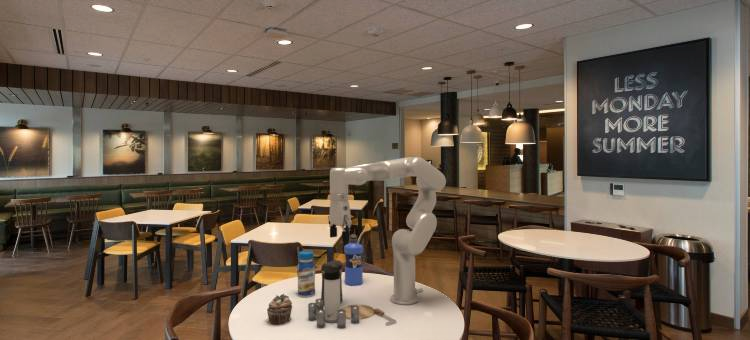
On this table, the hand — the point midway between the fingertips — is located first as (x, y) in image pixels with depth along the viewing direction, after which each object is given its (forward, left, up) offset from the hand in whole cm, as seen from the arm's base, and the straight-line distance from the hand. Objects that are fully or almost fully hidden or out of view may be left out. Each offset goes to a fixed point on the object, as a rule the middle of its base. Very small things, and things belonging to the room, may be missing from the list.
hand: (339, 238), depth 165 cm
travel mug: (+7, +6, -31) cm, 32 cm away
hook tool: (-9, +17, -30) cm, 36 cm away
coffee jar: (-2, -10, -31) cm, 32 cm away
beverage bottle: (+2, -27, -31) cm, 41 cm away
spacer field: (+7, +6, -30) cm, 32 cm away
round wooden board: (-5, +5, -30) cm, 31 cm away
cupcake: (+24, -6, -31) cm, 39 cm away
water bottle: (-25, -28, -31) cm, 48 cm away
